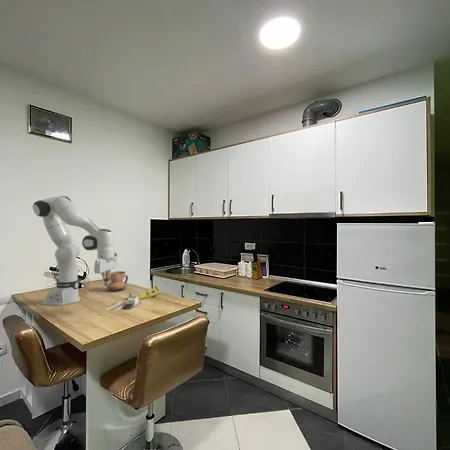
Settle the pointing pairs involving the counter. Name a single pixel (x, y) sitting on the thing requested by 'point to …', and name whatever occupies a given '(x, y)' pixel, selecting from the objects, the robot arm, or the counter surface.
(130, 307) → the beige flat block
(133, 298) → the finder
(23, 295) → the counter surface
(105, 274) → the brown rounded cylinder
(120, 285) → the ceramic jug
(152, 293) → the plastic component
